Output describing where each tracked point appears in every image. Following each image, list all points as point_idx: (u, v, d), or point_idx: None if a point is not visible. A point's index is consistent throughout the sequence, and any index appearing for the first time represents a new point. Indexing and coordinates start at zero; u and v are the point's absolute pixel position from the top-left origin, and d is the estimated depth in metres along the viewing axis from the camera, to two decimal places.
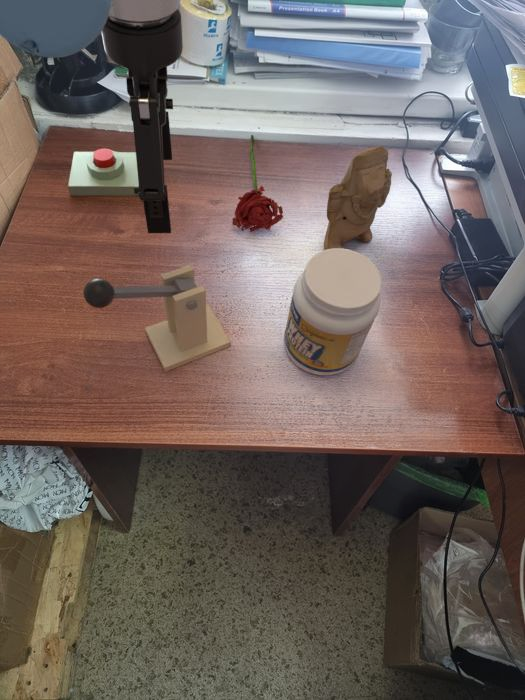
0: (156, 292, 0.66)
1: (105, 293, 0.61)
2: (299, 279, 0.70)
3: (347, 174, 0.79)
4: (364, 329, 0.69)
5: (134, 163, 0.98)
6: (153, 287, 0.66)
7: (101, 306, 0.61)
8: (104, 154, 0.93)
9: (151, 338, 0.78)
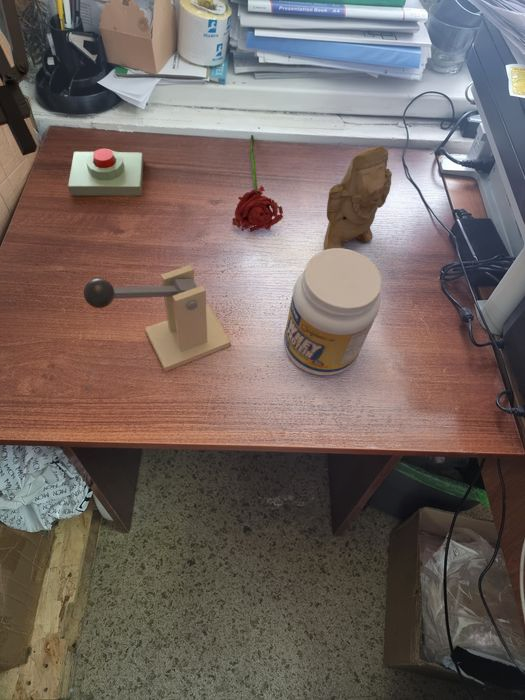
0: (156, 292, 0.66)
1: (105, 293, 0.61)
2: (299, 279, 0.70)
3: (347, 174, 0.79)
4: (364, 329, 0.69)
5: (134, 163, 0.98)
6: (153, 287, 0.66)
7: (101, 306, 0.61)
8: (104, 154, 0.93)
9: (151, 338, 0.78)
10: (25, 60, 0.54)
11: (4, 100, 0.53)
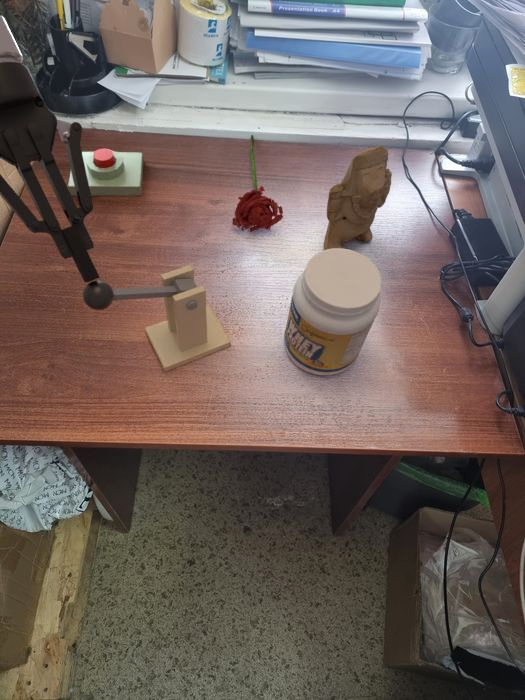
0: (156, 293, 0.66)
1: (104, 295, 0.61)
2: (299, 279, 0.70)
3: (347, 174, 0.79)
4: (364, 329, 0.68)
5: (134, 163, 0.98)
6: (153, 288, 0.66)
7: (100, 308, 0.62)
8: (104, 154, 0.93)
9: (151, 338, 0.78)
10: (90, 201, 0.59)
11: (71, 239, 0.58)
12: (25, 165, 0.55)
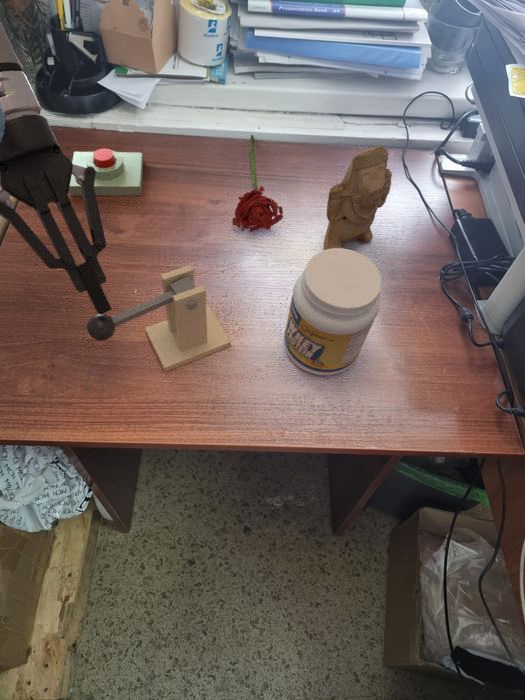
0: (154, 305, 0.68)
1: (101, 329, 0.65)
2: (299, 279, 0.70)
3: (347, 174, 0.79)
4: (364, 329, 0.68)
5: (134, 163, 0.98)
6: (150, 301, 0.68)
7: (105, 339, 0.67)
8: (104, 154, 0.93)
9: (151, 338, 0.78)
10: (103, 239, 0.63)
11: (86, 275, 0.62)
12: (43, 208, 0.59)
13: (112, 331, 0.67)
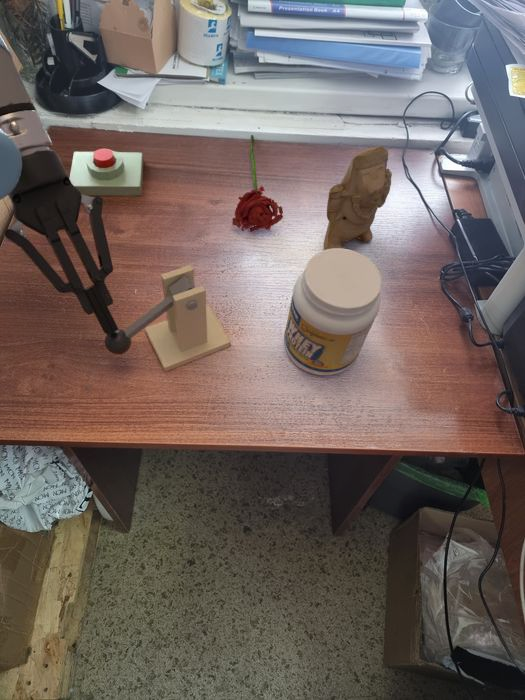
0: (158, 312, 0.70)
1: (115, 345, 0.70)
2: (299, 279, 0.70)
3: (347, 174, 0.79)
4: (364, 329, 0.68)
5: (134, 163, 0.98)
6: (155, 308, 0.70)
7: (123, 352, 0.71)
8: (104, 154, 0.93)
9: (151, 338, 0.78)
10: (110, 264, 0.67)
11: (93, 298, 0.66)
12: (54, 237, 0.63)
13: (127, 344, 0.71)
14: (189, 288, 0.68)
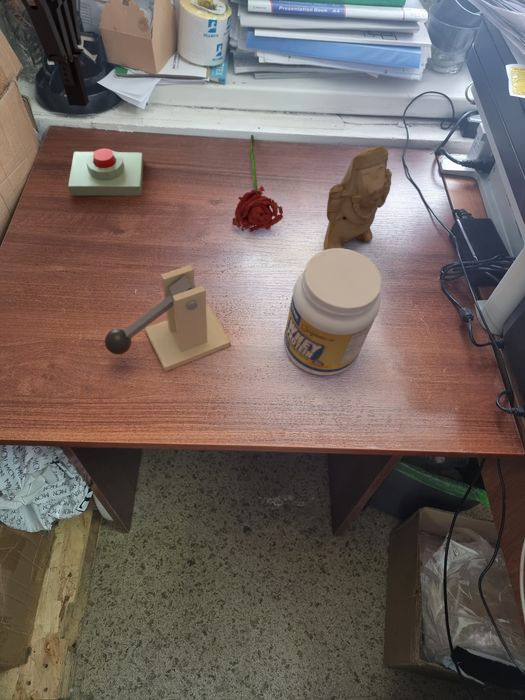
0: (158, 312, 0.70)
1: (115, 345, 0.70)
2: (299, 279, 0.70)
3: (347, 174, 0.79)
4: (364, 329, 0.69)
5: (134, 163, 0.98)
6: (155, 308, 0.70)
7: (124, 352, 0.71)
8: (104, 154, 0.93)
9: (151, 338, 0.78)
10: (80, 36, 0.75)
11: (78, 69, 0.75)
12: (60, 2, 0.67)
13: (127, 344, 0.71)
14: (189, 288, 0.68)
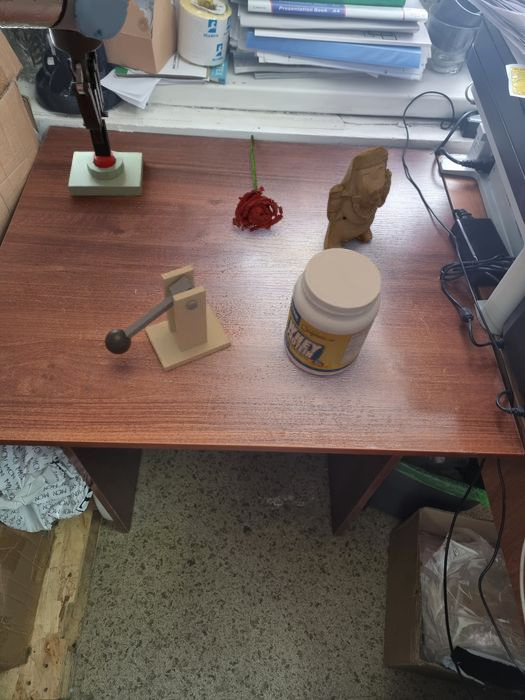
0: (158, 312, 0.70)
1: (115, 345, 0.70)
2: (299, 279, 0.70)
3: (347, 174, 0.79)
4: (364, 329, 0.68)
5: (134, 163, 0.98)
6: (155, 308, 0.70)
7: (124, 352, 0.71)
8: None
9: (151, 338, 0.78)
10: None
11: (105, 129, 0.89)
12: (96, 84, 0.81)
13: (127, 344, 0.71)
14: (189, 288, 0.68)
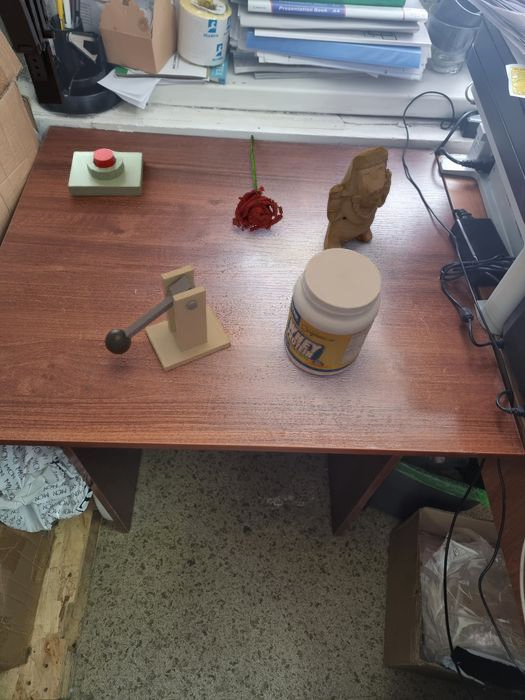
0: (158, 312, 0.70)
1: (115, 345, 0.70)
2: (299, 279, 0.70)
3: (347, 174, 0.79)
4: (364, 329, 0.69)
5: (134, 163, 0.98)
6: (155, 308, 0.70)
7: (124, 352, 0.71)
8: (104, 154, 0.93)
9: (151, 338, 0.78)
10: (46, 12, 0.57)
11: (51, 59, 0.57)
12: None
13: (127, 344, 0.71)
14: (189, 288, 0.68)
